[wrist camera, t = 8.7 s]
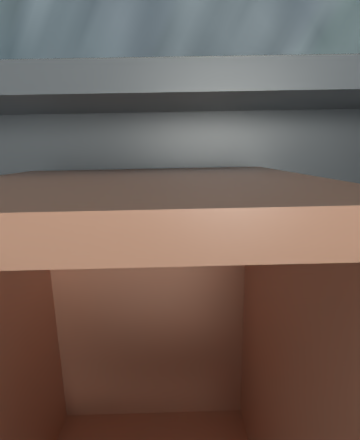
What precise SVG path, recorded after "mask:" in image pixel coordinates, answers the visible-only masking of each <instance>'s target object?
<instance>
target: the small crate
mask: <svg viewBox="0 0 360 440" xmlns="http://www.w3.org/2000/svg"><path fill="white" fill-rule="evenodd" d="M0 440H360V184H359V183H353V182H347V181H341V180H335V179H329V178H324V177H318V176H312V175H306V174H300V173H294V172H288V171H282V170H276V169H270V168H264V167H217V168H165V169H113V170H60V171H28V172H20V173H13V174H5V175H0Z"/></svg>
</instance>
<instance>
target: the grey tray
mask: <svg viewBox="0 0 360 440" xmlns="http://www.w3.org/2000/svg"><path fill="white" fill-rule="evenodd" d="M217 167H264V168H270V169H276V170H282V171H288V172H294V173H300V174H306V175H312V176H318V177H324V178H329V179H335V180H341V181H347V182H353V183H359V184H360V54H309V55H247V56H185V57H123V58H61V59H0V175H5V174H13V173H20V172H28V171H60V170H113V169H165V168H217Z"/></svg>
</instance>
